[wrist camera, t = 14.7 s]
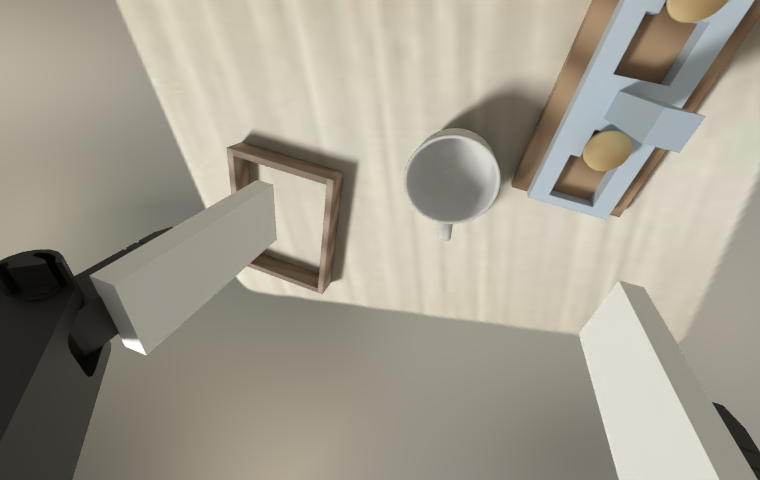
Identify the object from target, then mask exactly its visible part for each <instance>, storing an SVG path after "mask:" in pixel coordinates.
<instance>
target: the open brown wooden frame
mask: <svg viewBox="0 0 760 480" xmlns="http://www.w3.org/2000/svg"><path fill="white" fill-rule="evenodd" d="M227 155H228V165H229V175H230V185H231V194H233V193H235V192H237V191H238V190H240V189H242V188H244V187H245V186H247V185H249V184H250V181H249V166H248V161H252V162H255V163H258V164H261V165H265V166H268V167H271V168H274V169H277V170H281V171H284V172H287V173H290V174H294V175H297V176H300V177H303V178H307V179H310V180H313V181H316V182H319V183H323V184H326V185H327V188H326V199H325V211H324V223H323V235H322V246H321V258H320V270H319V274H316V273H313V272H311V271H308V270H305V269H302V268H300V267H297V266H294V265H291V264H288V263H286V262H283V261H280V260H277V259H275V258H272V257H269V256H266V255H264V254H260V255H259V256H258V257H256V258H255V259H254V260H253V261H252V262H251V263H250V264H249V265H247V266H248V267H251V268H253V269H256V270H259V271H262V272H264V273H267V274H270V275H272V276H275V277H278V278H280V279H283V280H286V281H288V282H291V283H294V284H296V285H299V286H302V287H305V288H307V289H310V290H313V291H315V292H318V293H321V294H323V293H324V291H325V290H326V288H327V287H328V286H329V284H330V283H331V275H332V266H333V258H334V249H335V240H336V231H337V223H338V214H339V205H340V197H341V188H342V179H343V172H340V171H336V170H333V169H330V168H326V167H323V166H320V165H316V164H313V163H310V162H306V161H303V160H300V159H296V158H293V157H290V156H286V155H283V154H280V153H276V152H273V151H270V150H266V149H263V148H260V147H256V146H253V145H250V144H246V143H243V142H241V143H238V144H235V145H233V146H230V147H227Z"/></svg>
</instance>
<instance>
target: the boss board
mask: <svg viewBox="0 0 760 480" xmlns="http://www.w3.org/2000/svg"><path fill="white" fill-rule="evenodd" d="M728 1H729V0H666V1H665V3H664V5H663V7H662V8H661V10H660V12H659V13H658V14H653V15H646V14H645V15H644V17H643V18H642V20H641V22H640V24H639V26H638V28H637V30H636V32H635V34H634V35H633V37H632V39H631V41H630V43H629V45H628V47H627V49H626V51H625V52H624V54H623V56H622V58H621V60H620V62H619V64H618V66H617V68H616V69H615V71H614V73H613V74H614V75H619V76H623V77H628V78H633V79H637V80H642V81H647V82H652V83H656V84H661V83H662V81H663V79H664V78H665V76H666V75H667V73H668V71H669V70H670V68H671V66H672V65H673V63H674V62H675V60H676V58H677V57H678V55H679V53H680V52H681V50H682V49H683V47H684V45H685V44H686V42H687V40H688V39H689V37H690V36H691V34H692V32H693V31H694V29H695V27H696V26H697V24H696V23H690V22H697V21H701V20H703V19H706V18H708V17H710V16H711V15H713V14H715V13H716V12H717V11H719V10H720V9H721V8H722V7H723V6H724V5H725V4H726V3H727V2H728ZM618 2H619V0H592V2H591V5H590V7H589V9H588V11H587V14H586V16H585V18H584V20H583V23H582V25H581V27H580V29H579V32H578V34H577V36H576V38H575V41H574V43H573V45H572V47H571V50H570V52H569V54H568V56H567V59H566V61H565V63H564V65H563V68H562V70H561V72H560V74H559V77H558V79H557V81H556V83H555V86H554V88H553V90H552V92H551V95H550V97H549V99H548V101H547V104H546V106H545V108H544V110H543V113H542V115H541V117H540V119H539V122H538V124H537V126H536V128H535V131H534V133H533V135H532V138H531V140H530V142H529V144H528V147H527V149H526V151H525V153H524V156H523V158H522V160H521V162H520V165H519V167H518V169H517V171H516V174H515V176H514V178H513V180H512V183H511V184H512V187H514V188H517V189H521V190H524V191H528V189H529V187H530V185H531V182H532V180H533V178H534V176H535V174H536V172H537V170H538V168H539V166H540V164H541V162H542V160H543V158H544V156H545V153H546V151H547V149H548V147H549V145H550V143H551V141H552V139H553V137H554V135H555V133H556V131H557V129H558V127H559V124H560V122H561V120H562V118H563V116H564V114H565V112H566V110H567V108H568V106H569V104H570V102H571V100H572V97H573V95H574V93H575V91H576V89H577V87H578V85H579V83H580V81H581V79H582V77H583V75H584V73H585V71H586V68H587V66H588V64H589V62H590V60H591V58H592V56H593V54H594V52H595V50H596V48H597V46H598V44H599V42H600V39H601V37H602V35H603V33H604V31H605V29H606V27H607V25H608V23H609V21H610V19H611V17H612V15H613V13H614V10H615V8H616V6H617V4H618ZM759 17H760V0H754V2H753V3H752V5H751V6H750V8H749V9H748V11H747V12H746V14H745V15H744V17H743V18H742V20H741V21H740V23H739V24H738V25H737V27H736V28H735V30H734V31H733V33H732V34H731V36H730V37H729V39H728V40H727V42H726V43H725V45H724V46H723V48H722V49H721V51H720V52H719V54H718V55H717V57H716V58H715V59H714V61H713V62H712V64H711V65H710V67H709V68H708V70H707V71H706V73H705V74H704V76H703V77H702V79H701V80H700V82H699V83H698V85H697V86H696V88H695V89H694V91H693V92H692V93H691V95H690V96H689V98H688V99H687V101H686V102H685V104H684V105H683V107H682V109H685V110H688V111H691V112H694V110H695V109H696V107H697V106H698V104H699V103H700V102H701V100H702V99H703V97H704V96H705V94H706V93H707V92H708V90H709V89H710V87H711V86H712V84H713V83H714V82H715V80H716V79H717V77H718V76H719V74H720V73H721V72H722V70H723V69H724V67H725V66H726V64H727V63H728V62H729V60H730V59H731V57H732V56H733V54H734V53H735V52H736V50H737V49H738V47H739V46H740V44H741V43H742V42H743V40H744V39H745V37H746V36H747V34H748V33H749V32H750V30H751V29H752V27H753V26H754V24H755V23H756V22H757V20H758V19H759ZM631 150H632V143H631V141H630V139H629V137H628V136H626V135H625V134H623V133H622V132H620V131H617V130H605V131H599V130H594V132H593V134H592V136H591V138H590V139H589V140H588V141H587V143H586V144H585V146H584V149H583V152H582V154H581V156H580V157H578V156H574V155H570V156H569V158H568V160H567V162H566V164H565V166H564V168H563V170H562V171H561V173H560V175H559V177H558V179H557V181H556V183H555V185H554V187H553V188H552V190H553V191H556V192H560V193H564V194H567V195H571V196H574V197H578V198H582V199H585V200H590V198H591V196H592V195H593V193H594V192H595V190H596V188H597V187H598V185H599V183H600V182H601V180H602V179H603V177H604V175H605V174H606V172H607V171H609V170H612V169H615V168H617V167H619V166H620V165H622V164H623V163H624V162H625V161H626V160H627V159H628V157H629V156H630V154H631ZM665 151H666V149H662V148H658V147H655V148H654V150H653V151H652V153H651V154H650V156H649V157H648V159H647V160H646V162H645V163H644V164H643V166H642V167H641V169H640V170H639V172H638V173H637V175H636V176H635V178H634V179H633V181H632V182H631V184H630V185H629V187H628V188H627V190H626V191H625V193H624V194H623V196H622V197H621V198H620V200H619V201H618V203H617V204H616V206H615V207H614V209H613V210H612V212H611V213H610V215H613V216H617V217H620V216H621V214H622V213H623V211H624V210H625V209H626V207H627V206H628V204H629V203H630V201H631V200H632V199H633V197H634V196H635V194H636V193H637V191H638V190H639V189H640V187H641V186H642V184H643V183H644V181H645V180H646V179H647V177H648V176H649V174H650V173H651V171H652V170H653V169H654V167H655V166H656V164H657V163H658V161H659V160H660V159H661V157H662V156H663V154H664V153H665Z"/></svg>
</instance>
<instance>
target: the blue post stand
mask: <svg viewBox="0 0 760 480" xmlns="http://www.w3.org/2000/svg"><path fill="white" fill-rule="evenodd" d="M665 1H666V0H619V2H618V4H617V6H616V8H615V10H614V13H613V15H612V17H611V19H610V21H609V23H608V25H607V27H606V29H605V31H604V33H603V35H602V37H601V39H600V42H599V44H598V46H597V48H596V50H595V52H594V54H593V56H592V58H591V60H590V62H589V64H588V66H587V68H586V71H585V73H584V75H583V77H582V79H581V81H580V83H579V85H578V87H577V89H576V91H575V93H574V95H573V97H572V100H571V102H570V104H569V106H568V108H567V110H566V112H565V114H564V116H563V118H562V120H561V122H560V124H559V127H558V129H557V131H556V133H555V135H554V137H553V139H552V141H551V143H550V145H549V147H548V149H547V151H546V153H545V156H544V158H543V160H542V162H541V164H540V166H539V168H538V170H537V172H536V174H535V176H534V178H533V180H532V182H531V185H530V187H529V189H528V191H527V193H528V198H532V199H535V200H539V201H542V202H546V203H549V204H553V205H556V206H560V207H563V208H567V209H570V210H574V211H577V212H581V213H584V214H588V215H591V216H595V217H598V218H602V219H605V220H606V219H607V218H608V216H609V215H610V213H611V212H612V210H613V209H614V207H615V206H616V204H617V203H618V201H619V200H620V198H621V197H622V196H623V194H624V193H625V191H626V190H627V188H628V187H629V185H630V184H631V182H632V181H633V179H634V178H635V176H636V175H637V173H638V172H639V170H640V169H641V167H642V166H643V164H644V163H645V162H646V160H647V159H648V157H649V156H650V154H651V153H652V151H653V150H654V148H655V147H658V148H662V149H666V150H670V151H674V152H678V153H680V151H681V150H682V148H683V147H684V146H685V144H686V143H687V142H688V140H689V139H690V137H691V136H692V135H693V133H694V132H695V131H696V129H697V128H698V126H699V125H700V124H701V122H702V121H703V120H704V118H705V117H706V116H703V115H700V114H697V113H694V112H691V111H688V110H685V109H682V107H683V105H684V104H685V102H686V101H687V99H688V98H689V96H690V95H691V93H692V92H693V91H694V89H695V88H696V86H697V85H698V83H699V82H700V80H701V79H702V77H703V76H704V74H705V73H706V71H707V70H708V68H709V67H710V65H711V64H712V62H713V61H714V59H715V58H716V57H717V55H718V54H719V52H720V51H721V49H722V48H723V46H724V45H725V43H726V42H727V40H728V39H729V37H730V36H731V34H732V33H733V31H734V30H735V28H736V27H737V25H738V24H739V23H740V21H741V20H742V18H743V17H744V15H745V14H746V12H747V11H748V9H749V8H750V6H751V5H752V3H753V2H754V0H729V1H728V2H727V3H726V4H725V5H724V6H723V7H722V8H721V9H720V10H719V11H717V12H716V13H715V14H713V15H711V16H710V17H708V18H706V19H703V20H701V21H697V22H690V23H696V24H697V26H696V27H695V29H694V31H693V32H692V34H691V36H690V37H689V39H688V40H687V42H686V44H685V45H684V47H683V49H682V50H681V52H680V53H679V55H678V57H677V58H676V60H675V62H674V63H673V65H672V66H671V68H670V70H669V71H668V73H667V75H666V76H665V78H664V79H663V81H662V83H661V84H656V83H652V82H647V81H642V80H637V79H633V78H628V77H623V76H619V75H614V74H613V73H614V71H615V69H616V68H617V66H618V64H619V62H620V60H621V58H622V56H623V54H624V52H625V51H626V49H627V47H628V45H629V43H630V41H631V39H632V37H633V35H634V34H635V32H636V30H637V28H638V26H639V24H640V22H641V20H642V18H643V17H644V15H645V14H646V15H653V14H658V13H659V12H660V10H661V8H662V7H663V5H664V3H665ZM594 130H599V131H605V130H617V131H620V132H622V133H623V134H625V135H626V136H628V137H629V139H630V141H631V143H632V150H631V154H630V156H629V157H628V159H627V160H626V161H625V162H624V163H623V164H622V165H620V166H619V167H617V168H615V169H612V170H609V171H607V172H606V174H605V175H604V177H603V179H602V180H601V182H600V183H599V185H598V187H597V188H596V190H595V192H594V193H593V195H592V196H591V198H590V200H585V199H582V198H578V197H574V196H571V195H567V194H564V193H560V192H556V191H553V190H552V188H553V187H554V185H555V183H556V181H557V179H558V177H559V175H560V173H561V171H562V170H563V168H564V166H565V164H566V162H567V160H568V158H569V156H570V155H574V156H578V157H580V156H581V154H582V152H583V149H584V146H585V144H586V143H587V141H588V140H589V139H590V138H591V136H592V134H593V132H594Z"/></svg>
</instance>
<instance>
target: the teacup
mask: <svg viewBox="0 0 760 480" xmlns="http://www.w3.org/2000/svg"><path fill="white" fill-rule="evenodd" d="M500 183H501V174H500V168H499V165H498V162H497V160H496V158H495V155H494V153H493V151H492V149H491V147H490V146H489V144H488V143H487V142H486V141H485V140H484V139H483V138H482V137H481V136H479V135H478V134H476V133H474V132H472V131H470V130H466V129H461V128H450V129H445V130H442V131H439V132H437V133H435V134H433V135H431V136H430V137H429V138H427V139H426V140H425V141H424V142H423V143H422V144H421V145H420V147H419V148H418V149H417V150H416V151H415V152H414V153H413V155H412V156H411V158H410V160H409V161H408V164H407V166H406V169H405V175H404V185H405V191H406V194H407V197H408V199H409V201H410V203H411V204H412V205H413V207H414V208H415V209H416V210H417V211H418V212H419V213H420V214H422V215H423V216H425V217H426V218H429V219H431V220H433V221H436V222H439V223H440V224H439V233H438V238H439V240H441V241H449V240H450V238H451V232H452V226H453V224H458V223H464V222H468V221H471V220H473V219H475V218H477V217H479V216H480V215H482V214H483V213H484V212H486V211H487V210H488V209H489V208H490V206H491V205H492V204H493V202H494V200H495V199H496V197H497V195H498V192H499V189H500Z"/></svg>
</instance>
